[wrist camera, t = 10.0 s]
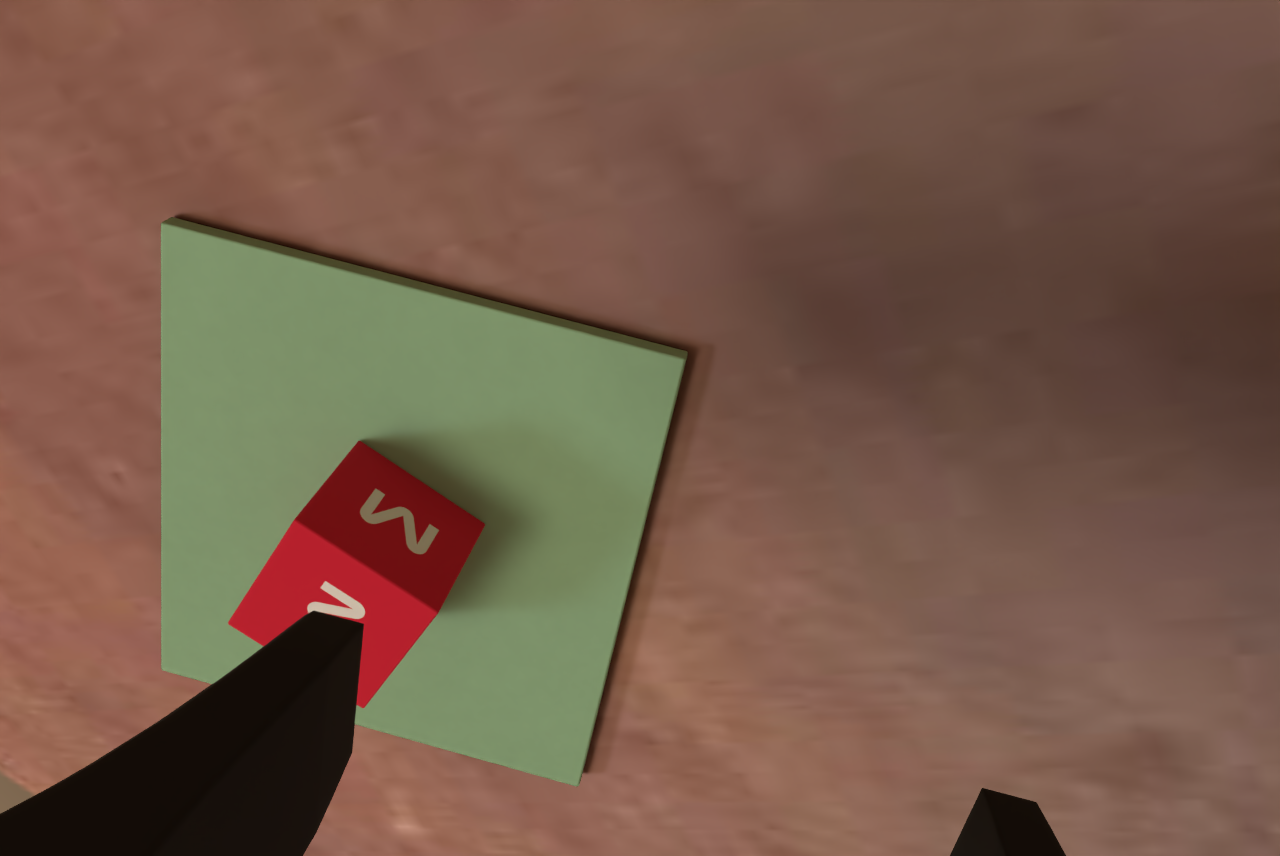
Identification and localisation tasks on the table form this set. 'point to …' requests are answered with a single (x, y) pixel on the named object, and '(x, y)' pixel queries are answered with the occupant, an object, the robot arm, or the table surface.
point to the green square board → (428, 450)
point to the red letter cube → (364, 562)
